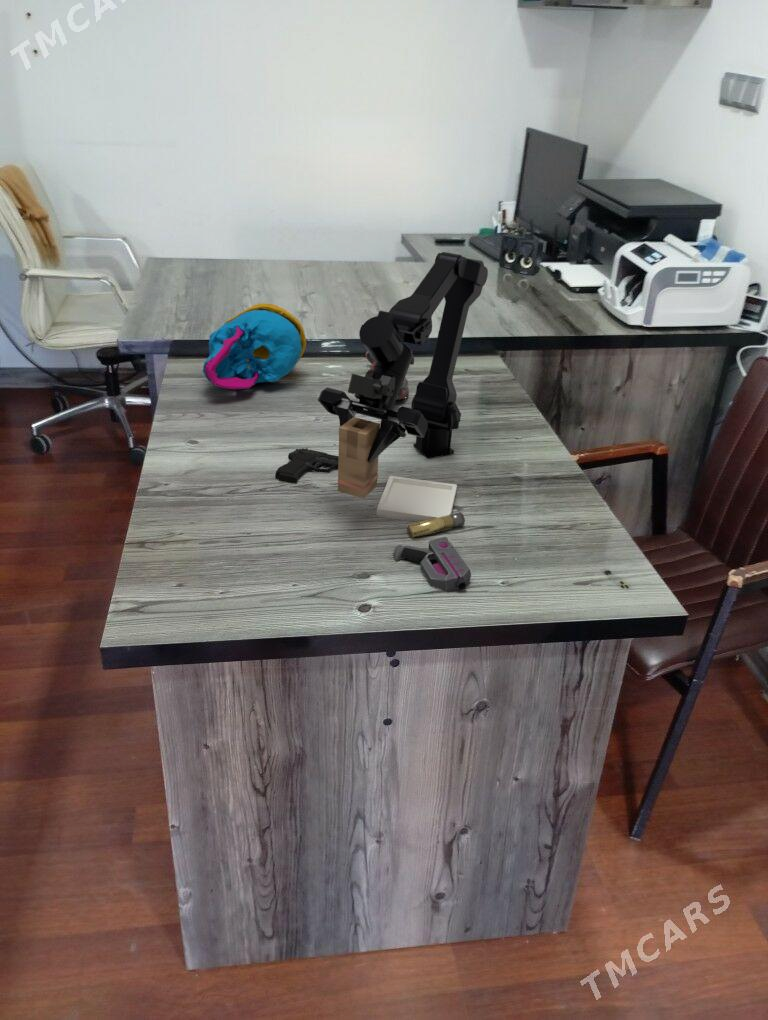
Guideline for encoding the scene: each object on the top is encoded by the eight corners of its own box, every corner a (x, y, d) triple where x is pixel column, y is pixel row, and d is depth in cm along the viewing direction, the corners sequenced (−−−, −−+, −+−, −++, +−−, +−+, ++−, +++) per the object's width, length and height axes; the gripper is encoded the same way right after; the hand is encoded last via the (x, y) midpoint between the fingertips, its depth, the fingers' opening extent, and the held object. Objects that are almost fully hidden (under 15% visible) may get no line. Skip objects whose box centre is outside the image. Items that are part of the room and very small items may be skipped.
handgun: (359, 488, 156) (373, 457, 166) (273, 471, 158) (292, 441, 168) (358, 500, 157) (372, 469, 167) (273, 483, 159) (292, 453, 169)
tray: (389, 482, 161) (389, 475, 160) (456, 491, 159) (457, 484, 158) (376, 516, 150) (377, 509, 149) (448, 526, 148) (449, 519, 147)
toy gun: (418, 605, 130) (477, 590, 132) (417, 589, 128) (477, 573, 130) (389, 556, 141) (444, 543, 143) (388, 540, 139) (443, 527, 141)
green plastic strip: (633, 586, 134) (624, 589, 133) (632, 590, 135) (623, 592, 134) (607, 566, 139) (598, 569, 138) (606, 570, 139) (597, 572, 138)
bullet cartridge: (456, 521, 149) (458, 509, 148) (464, 527, 148) (465, 516, 146) (406, 533, 145) (407, 522, 144) (413, 540, 143) (414, 528, 142)
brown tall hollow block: (351, 478, 147) (353, 416, 141) (377, 486, 145) (380, 423, 139) (337, 491, 143) (338, 427, 137) (363, 498, 141) (366, 435, 135)
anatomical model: (217, 416, 187) (213, 385, 209) (323, 382, 189) (308, 355, 211) (190, 342, 179) (189, 318, 201) (300, 308, 181) (287, 288, 204)
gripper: (324, 342, 138) (288, 426, 136) (426, 365, 132) (391, 454, 129) (346, 371, 149) (313, 450, 146) (441, 394, 142) (409, 478, 139)
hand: (354, 457), depth 140 cm, fingers closed on brown tall hollow block, 5 cm apart
